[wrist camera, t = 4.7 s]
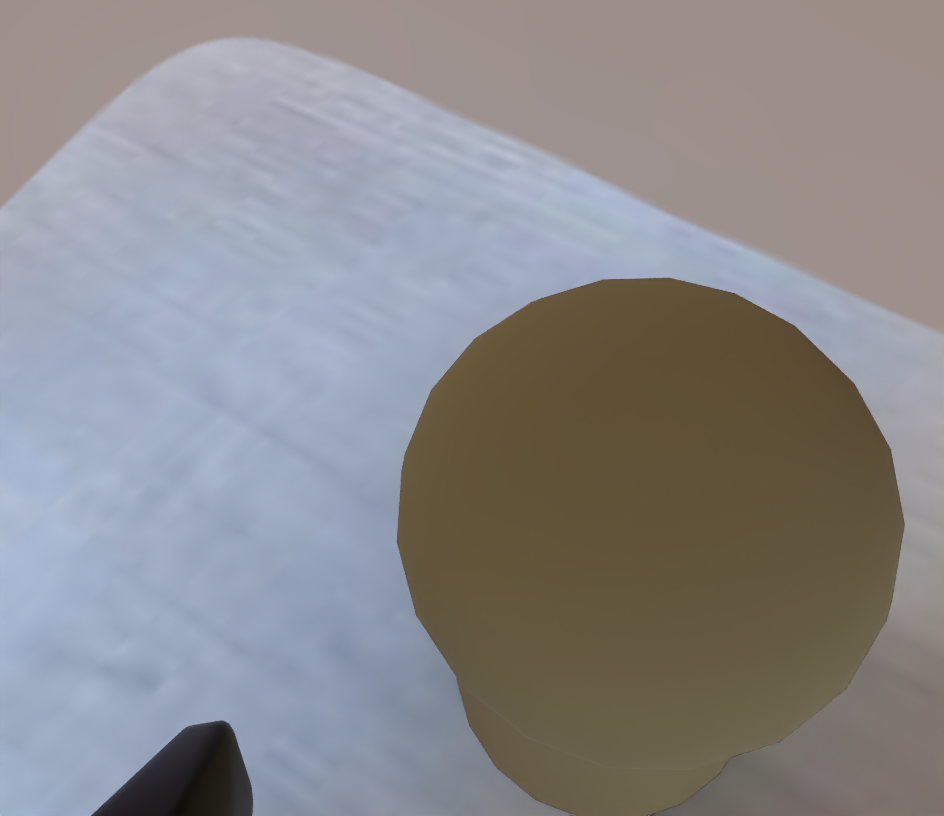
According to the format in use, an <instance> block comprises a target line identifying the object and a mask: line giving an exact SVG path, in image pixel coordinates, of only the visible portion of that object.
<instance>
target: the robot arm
mask: <svg viewBox="0 0 944 816" xmlns="http://www.w3.org/2000/svg"><path fill="white" fill-rule="evenodd" d="M252 812H253V795H252V787H251V783H250V780H249V777H248V773H247V770H246V767H245V764H244V761H243V758H242V755H241V752H240V749H239V746H238V742H237V739H236V736H235V733H234V731H233V729H232V727H231V726H230V724H229V723H227V722H225V721H215V722H209V723H203V724H197V725H192V726H188V727H186V728H185V729H183V730H182V731H181V732H180V733H179V734H178V735H177V736H176V737H175V738H174V739H172V740H171V741H170V742H169V743H168V744H167V745H166V746H165V747H164V748H163V749H162V750H161V751H160V752H159V753H157V754H156V755H155V756H154V757H153V758H152V759H151V760H150V761H149V762H148V763H147V764H146V765H145V766H144V767H143V768H141V769H140V770H139V771H138V772H137V773H136V774H135V775H134V776H133V777H132V778H131V779H130V780H129V781H128V782H126V783H125V784H124V785H123V786H122V787H121V788H120V789H119V790H118V791H117V792H116V793H115V794H114V795H113V796H112V797H110V798H109V799H108V800H107V801H106V802H105V803H104V804H103V805H102V806H101V807H100V808H99V809H98V810H97V811H96V812H94V813H93V814H92V815H91V816H252Z"/></svg>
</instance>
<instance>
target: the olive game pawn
mask: <svg viewBox="0 0 944 816" xmlns="http://www.w3.org/2000/svg"><path fill="white" fill-rule="evenodd" d="M904 525H905V523H904V518H903V512H902V507H901V502H900V496H899V491H898V486H897V480H896V475H895V470H894V464H893V459H892V453H891V449H890V447H889V445H888V444H887V442H886V440H885V438H884V436H883V434H882V433H881V431H880V429H879V427H878V425H877V424H876V422H875V420H874V418H873V416H872V415H871V413H870V411H869V409H868V407H867V406H866V404H865V402H864V400H863V398H862V397H861V395H860V393H859V391H858V389H857V388H856V386H855V384H854V383H853V382H852V381H851V380H850V379H849V378H848V377H847V376H846V375H845V374H844V373H843V372H842V371H841V370H840V369H839V368H838V367H837V366H836V365H835V364H834V363H833V362H832V361H830V360H829V359H828V358H827V357H826V356H825V355H824V354H823V353H822V352H821V351H820V350H819V349H818V348H817V347H816V346H815V345H814V344H813V343H812V342H811V341H810V340H809V339H808V338H807V337H806V336H805V335H804V334H803V333H802V332H801V331H800V330H799V329H797V328H796V327H795V326H794V325H792V324H790V323H789V322H787V321H785V320H783V319H781V318H779V317H778V316H776V315H774V314H772V313H770V312H768V311H766V310H765V309H763V308H761V307H759V306H757V305H755V304H753V303H752V302H750V301H748V300H746V299H744V298H742V297H740V296H739V295H737V294H735V293H731V292H727V291H723V290H719V289H714V288H710V287H706V286H702V285H697V284H693V283H689V282H685V281H681V280H676V279H672V278H644V279H607V280H601V281H597V282H594V283H591V284H587V285H584V286H581V287H577V288H574V289H571V290H567V291H564V292H561V293H557V294H554V295H551V296H548V297H544V298H541V299H538V300H536V301H533V302H531V303H529V304H528V305H526V306H525V307H523V308H522V309H520V310H519V311H517V312H515V313H514V314H512V315H511V316H509V317H508V318H506V319H505V320H503V321H501V322H500V323H498V324H497V325H495V326H494V327H492V328H491V329H489V330H487V331H486V332H484V333H483V334H481V335H480V336H478V337H477V338H475V339H474V340H473V341H472V343H471V344H470V345H469V346H468V347H467V348H466V350H465V351H464V352H463V353H462V354H461V355H460V357H459V358H458V359H457V360H456V361H455V363H454V364H453V365H452V366H451V367H450V368H449V370H448V371H447V372H446V373H445V374H444V376H443V377H442V378H441V379H440V380H439V381H438V383H437V384H436V385H435V386H434V387H433V389H432V390H431V392H430V394H429V397H428V399H427V401H426V404H425V406H424V409H423V411H422V414H421V416H420V418H419V421H418V423H417V426H416V428H415V431H414V433H413V435H412V438H411V440H410V443H409V445H408V448H407V450H406V452H405V457H404V461H403V466H402V474H401V488H400V503H399V517H398V532H397V544H398V548H399V552H400V556H401V560H402V563H403V567H404V571H405V575H406V579H407V582H408V586H409V590H410V594H411V598H412V602H413V605H414V609H415V613H416V616H417V617H418V619H419V620H420V622H421V623H422V625H423V626H424V628H425V629H426V631H427V633H428V634H429V636H430V637H431V639H432V640H433V642H434V643H435V645H436V646H437V648H438V649H439V651H440V652H441V654H442V655H443V657H444V659H445V660H446V662H447V663H448V665H449V666H450V668H451V669H452V671H453V672H454V674H455V675H456V677H457V682H458V686H459V689H460V693H461V697H462V700H463V704H464V708H465V711H466V715H467V719H468V722H469V726H470V727H471V729H472V730H473V732H474V733H475V735H476V737H477V738H478V740H479V741H480V743H481V744H482V746H483V747H484V749H485V751H486V752H487V754H488V755H489V757H490V758H491V760H492V761H493V763H494V765H495V766H496V768H498V769H499V770H500V771H501V772H503V773H504V774H505V775H506V776H507V777H509V778H510V779H511V780H512V781H513V782H515V783H516V784H517V785H518V786H520V787H521V788H522V789H523V790H524V791H526V792H527V793H528V794H529V795H530V796H532V797H533V798H534V799H535V800H537V801H540V802H543V803H545V804H548V805H550V806H553V807H556V808H558V809H561V810H563V811H566V812H569V813H571V814H574V815H576V816H647V815H650V814H653V813H656V812H659V811H662V810H665V809H668V808H671V807H674V806H677V805H680V804H682V803H683V802H685V801H686V800H687V799H688V798H690V797H691V796H692V795H694V794H695V793H696V792H697V791H699V790H700V789H701V788H702V787H704V786H705V785H706V784H707V783H709V782H710V781H711V780H712V779H714V778H715V777H716V776H718V775H719V774H720V773H721V771H722V769H723V768H724V766H725V765H726V763H727V761H728V760H729V758H731V757H734V756H737V755H740V754H743V753H746V752H749V751H753V750H756V749H759V748H762V747H765V746H768V745H771V744H774V743H777V742H780V741H782V740H783V739H784V738H785V737H787V736H788V735H789V734H790V733H792V732H793V731H794V730H795V729H797V728H798V727H799V726H800V725H802V724H803V723H804V722H805V721H807V720H808V719H809V718H810V717H812V716H813V715H814V714H816V713H817V712H818V711H819V710H821V709H822V708H823V707H824V706H826V705H827V704H828V703H829V702H831V701H832V700H833V699H834V698H836V697H837V696H838V695H839V694H841V693H842V692H843V691H844V690H846V688H847V687H848V685H849V683H850V682H851V680H852V678H853V676H854V675H855V673H856V671H857V670H858V668H859V666H860V664H861V663H862V661H863V659H864V658H865V656H866V654H867V653H868V651H869V649H870V647H871V646H872V644H873V642H874V641H875V639H876V637H877V635H878V634H879V632H880V630H881V629H882V627H883V625H884V624H885V622H886V620H887V617H888V613H889V610H890V606H891V603H892V598H893V592H894V586H895V580H896V574H897V568H898V562H899V556H900V549H901V543H902V537H903V531H904Z"/></svg>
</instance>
